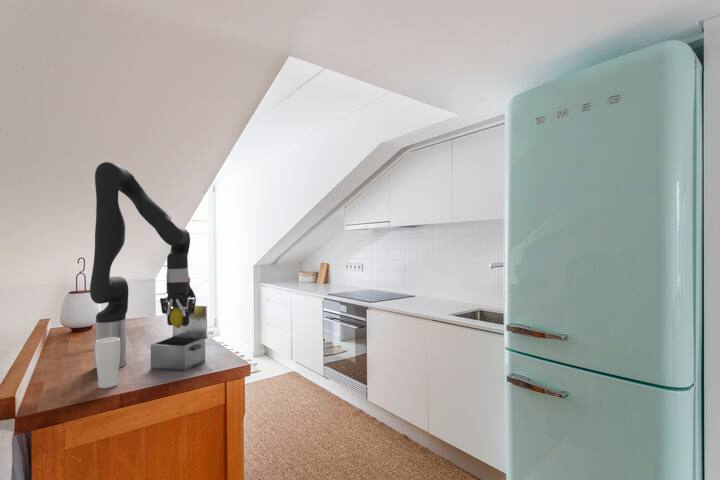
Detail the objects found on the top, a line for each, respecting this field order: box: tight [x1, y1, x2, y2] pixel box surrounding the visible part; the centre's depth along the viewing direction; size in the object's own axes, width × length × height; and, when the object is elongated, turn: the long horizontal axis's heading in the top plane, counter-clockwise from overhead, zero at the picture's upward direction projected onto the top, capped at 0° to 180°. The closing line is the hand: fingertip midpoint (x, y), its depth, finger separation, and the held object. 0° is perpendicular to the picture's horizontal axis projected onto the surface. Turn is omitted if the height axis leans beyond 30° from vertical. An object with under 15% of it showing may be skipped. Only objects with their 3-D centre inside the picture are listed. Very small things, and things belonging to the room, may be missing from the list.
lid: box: [172, 304, 208, 340], centre depth 148 cm, size 15×13×2 cm
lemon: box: [170, 308, 183, 328], centre depth 141 cm, size 6×6×8 cm
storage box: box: [150, 335, 206, 373], centre depth 141 cm, size 16×12×9 cm
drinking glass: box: [94, 337, 120, 390], centre depth 121 cm, size 7×7×15 cm
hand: (178, 325), depth 141 cm, fingers closed on lemon, 5 cm apart
